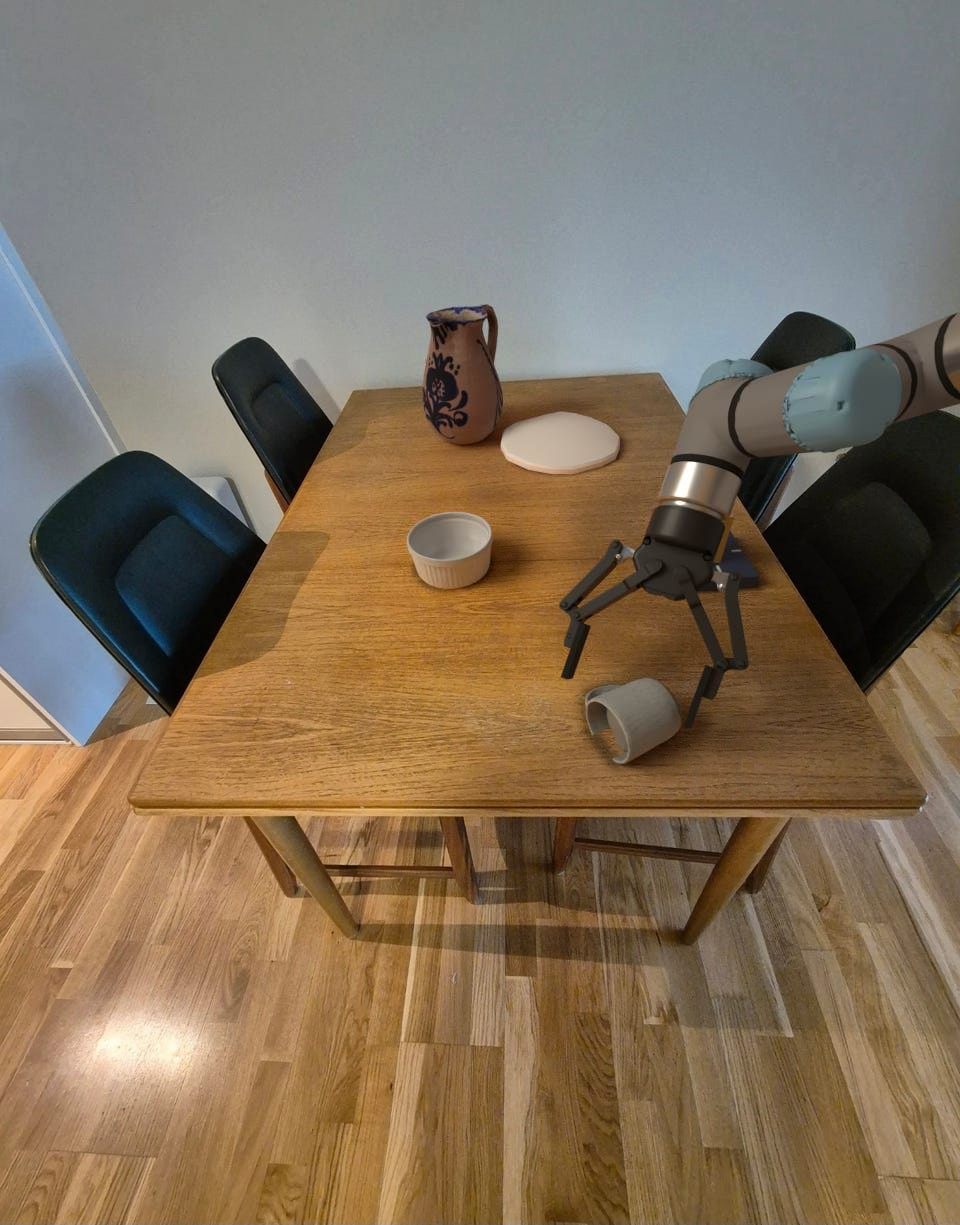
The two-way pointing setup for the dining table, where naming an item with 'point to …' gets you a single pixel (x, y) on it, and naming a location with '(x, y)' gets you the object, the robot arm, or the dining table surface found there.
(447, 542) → the ramekin
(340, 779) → the dining table surface
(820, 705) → the dining table surface
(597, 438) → the decorative plate
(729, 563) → the panel
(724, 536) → the knob
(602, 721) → the ceramic mug
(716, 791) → the dining table surface
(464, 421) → the ceramic pitcher
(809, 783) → the dining table surface
